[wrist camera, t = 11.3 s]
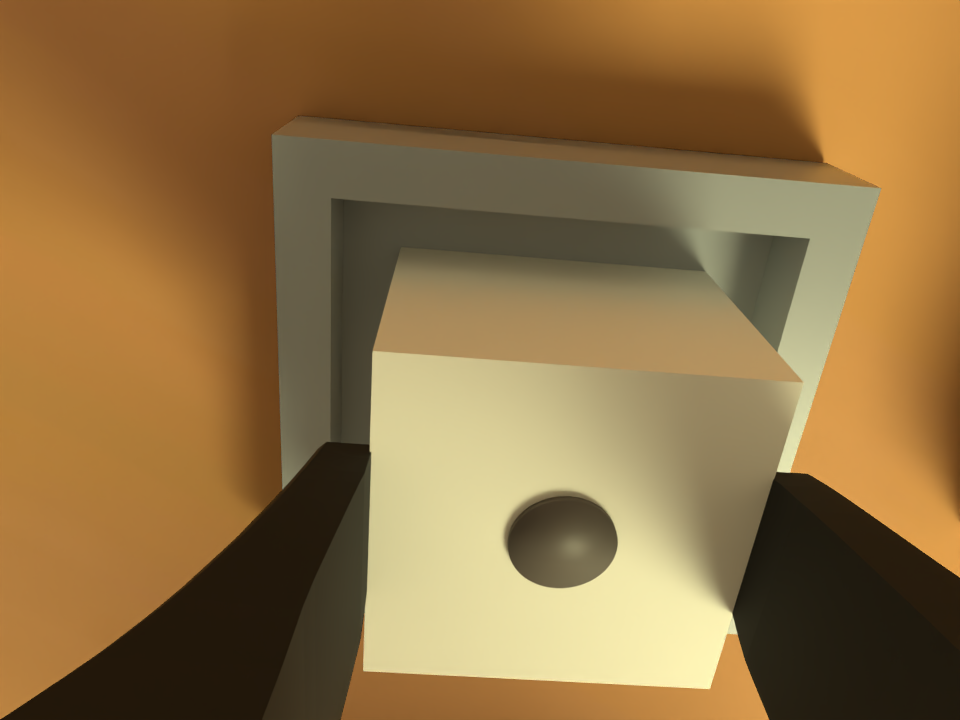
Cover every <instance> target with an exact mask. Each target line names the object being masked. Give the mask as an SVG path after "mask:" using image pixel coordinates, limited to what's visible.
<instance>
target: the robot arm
mask: <svg viewBox="0 0 960 720" xmlns="http://www.w3.org/2000/svg"><path fill="white" fill-rule="evenodd" d="M370 480H371V452H370V445H369V444H354V443H339V442H326V443H324V444H323V445H322V446H321V447H319V448H318V449H317V450H316V451H315V453H314V454H313V455H312V456H311V457H310V459H309V460H308V461H307V462H306V463H305V465H304V466H303V467H302V468H301V469H300V471H299V472H298V473H297V474H296V475H295V476H294V477H293V479H292V480H291V481H290V482H289V483H288V484H287V485H286V486H285V488H284V489H283V490H282V491H281V492H280V493H279V494H278V495H277V496H276V497H275V499H274V500H273V501H272V502H271V503H270V504H269V505H268V506H267V507H266V508H265V509H264V510H263V511H262V512H261V513H260V514H259V515H258V516H257V517H256V518H255V519H254V520H253V521H252V522H251V523H250V524H249V525H248V526H247V527H246V528H245V529H244V530H243V532H242V533H241V534H240V535H239V536H238V537H237V538H236V539H235V540H233V541H232V542H231V543H230V544H229V545H228V546H227V547H226V548H225V549H224V550H223V551H222V552H221V553H220V554H218V555H217V556H216V557H215V558H214V559H213V560H212V561H211V562H210V563H209V564H207V565H206V566H205V567H204V568H203V569H202V570H201V571H200V572H199V573H198V574H197V575H195V576H194V577H193V578H192V579H191V580H190V581H189V582H188V583H187V584H186V585H184V586H183V587H182V588H181V589H180V590H179V591H177V592H176V593H175V594H174V595H173V596H171V597H170V598H169V599H168V600H167V601H166V602H164V603H163V604H162V605H161V606H160V607H158V608H157V609H156V610H155V611H153V612H152V613H151V614H150V615H148V616H147V617H146V618H145V619H143V620H142V621H141V622H140V623H138V624H137V625H136V626H134V627H133V628H132V629H130V630H129V631H128V632H127V633H125V634H124V635H123V636H121V637H120V638H119V639H117V640H116V641H115V642H114V643H112V644H111V645H110V646H108V647H107V648H106V649H104V650H103V651H101V652H100V653H99V654H97V655H96V656H94V657H93V658H92V659H90V660H89V661H87V662H86V663H84V664H83V665H81V666H80V667H79V668H77V669H76V670H74V671H73V672H71V673H70V674H68V675H67V676H65V677H64V678H62V679H61V680H59V681H58V682H56V683H55V684H53V685H52V686H50V687H49V688H47V689H46V690H44V691H43V692H41V693H40V694H38V695H37V696H35V697H34V698H32V699H31V700H29V701H28V702H26V703H25V704H23V705H22V706H20V707H19V708H17V709H16V710H14V711H13V712H11V713H10V714H8V715H7V716H5V717H4V718H2V719H0V720H341V716H342V712H343V708H344V704H345V700H346V696H347V692H348V688H349V684H350V680H351V676H352V672H353V668H354V664H355V660H356V656H357V652H358V648H359V643H360V639H361V632H362V624H363V617H364V610H365V603H366V596H367V575H368V543H369V511H370ZM732 615H733V618H734V622H735V626H736V630H737V634H738V637H739V641H740V644H741V647H742V651H743V654H744V658H745V661H746V664H747V666H748V669H749V671H750V674H751V676H752V679H753V681H754V684H755V686H756V688H757V691H758V693H759V696H760V698H761V701H762V703H763V705H764V708H765V710H766V713H767V715H768V717H769V720H960V578H959V577H958V576H957V575H955V574H954V573H952V572H951V571H949V570H948V569H946V568H945V567H943V566H942V565H941V564H939V563H938V562H936V561H935V560H933V559H932V558H931V557H929V556H928V555H926V554H925V553H923V552H922V551H921V550H919V549H918V548H916V547H915V546H913V545H912V544H911V543H909V542H908V541H906V540H905V539H904V538H902V537H901V536H899V535H898V534H897V533H895V532H894V531H892V530H891V529H889V528H888V527H887V526H885V525H884V524H882V523H881V522H880V521H878V520H877V519H875V518H874V517H873V516H871V515H870V514H868V513H867V512H865V511H864V510H863V509H861V508H860V507H858V506H857V505H855V504H854V503H852V502H851V501H850V500H848V499H847V498H845V497H844V496H842V495H841V494H839V493H838V492H836V491H835V490H833V489H832V488H830V487H828V486H827V485H825V484H824V483H822V482H820V481H819V480H817V479H815V478H814V477H812V476H810V475H808V474H801V473H786V472H776V475H775V479H773V482H772V485H771V489H770V492H769V495H768V498H767V502H766V505H765V508H764V511H763V515H762V518H761V521H760V524H759V528H758V531H757V534H756V537H755V541H754V544H753V547H752V550H751V554H750V557H749V560H748V564H747V567H746V570H745V573H744V577H743V580H742V583H741V586H740V590H739V593H738V596H737V599H736V603H735V606H734V609H733V612H732Z"/></svg>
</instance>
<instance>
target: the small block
mask: <svg viewBox="0 0 960 720" xmlns="http://www.w3.org/2000/svg"><path fill="white" fill-rule="evenodd" d="M803 384H804V382H803V381H802V380H801V379H800V378H799V376H798V375H797V374H796V373H795V372H794V371H793V370H792V369H791V367H790V366H789V365H788V364H787V363H786V362H785V361H784V360H783V358H782V357H781V356H780V355H779V354H778V353H777V352H776V351H775V349H774V348H773V347H772V346H771V345H770V344H769V343H768V341H767V340H766V339H765V338H764V337H763V336H762V335H761V334H760V332H759V331H758V330H757V329H756V328H755V327H754V326H753V325H752V323H751V322H750V321H749V320H748V319H747V318H746V317H745V316H744V314H743V313H742V312H741V311H740V310H739V309H738V308H737V306H736V305H735V304H734V303H733V302H732V301H731V300H730V299H729V297H728V296H727V295H726V294H725V293H724V292H723V291H722V290H721V288H720V287H719V286H718V285H717V284H716V283H715V282H714V280H713V279H712V278H711V277H710V276H709V275H708V274H707V273H706V271H694V270H681V269H669V268H656V267H644V266H631V265H619V264H607V263H594V262H582V261H569V260H557V259H545V258H532V257H520V256H507V255H495V254H483V253H470V252H458V251H445V250H433V249H420V248H408V247H401V249H400V252H399V256H398V260H397V263H396V267H395V271H394V274H393V278H392V282H391V285H390V289H389V293H388V296H387V300H386V304H385V307H384V311H383V315H382V318H381V322H380V326H379V329H378V333H377V337H376V340H375V344H374V348H373V353H372V387H371V421H370V452H371V480H370V511H369V543H368V575H367V596H366V603H365V624H364V658H363V671H370V672H389V673H409V674H428V675H448V676H467V677H486V678H506V679H525V680H545V681H564V682H584V683H603V684H622V685H642V686H661V687H681V688H700V689H710V687H711V684H712V680H713V677H714V674H715V671H716V667H717V664H718V661H719V658H720V654H721V651H722V648H723V645H724V641H725V638H726V635H727V632H728V628H729V625H730V622H731V619H732V612H733V609H734V606H735V603H736V599H737V596H738V593H739V590H740V586H741V583H742V580H743V577H744V573H745V570H746V567H747V564H748V560H749V557H750V554H751V550H752V547H753V544H754V541H755V537H756V534H757V531H758V528H759V524H760V521H761V518H762V515H763V511H764V508H765V505H766V502H767V498H768V495H769V492H770V489H771V485H772V482H773V479H775V475H776V472H777V469H778V466H779V462H780V459H781V456H782V452H783V449H784V446H785V443H786V439H787V436H788V433H789V430H790V426H791V423H792V420H793V417H794V413H795V410H796V407H797V404H798V400H799V397H800V394H801V391H802V387H803Z"/></svg>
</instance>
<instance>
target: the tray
mask: <svg viewBox="0 0 960 720" xmlns="http://www.w3.org/2000/svg"><path fill="white" fill-rule="evenodd" d="M272 165H273V198H274V231H275V264H276V296H277V329H278V362H279V395H280V427H281V460H282V490H283V489H284V488H285V486H286V485H287V484H288V483H289V482H290V481H291V480H292V479H293V477H294V476H295V475H296V474H297V473H298V472H299V471H300V469H301V468H302V467H303V466H304V465H305V463H306V462H307V461H308V460H309V459H310V457H311V456H312V455H313V454H314V453H315V451H316V450H317V449H318V448H319V447H321V446H322V445H323V444H324V443H326V442H339V443H354V444H369V445H370V421H371V387H372V353H373V348H374V344H375V340H376V337H377V333H378V329H379V326H380V322H381V318H382V315H383V311H384V307H385V304H386V300H387V296H388V293H389V289H390V285H391V282H392V278H393V274H394V271H395V267H396V263H397V260H398V256H399V252H400V249H401V247H408V248H420V249H433V250H445V251H458V252H470V253H483V254H495V255H507V256H520V257H532V258H545V259H557V260H569V261H582V262H594V263H607V264H619V265H631V266H644V267H656V268H669V269H681V270H694V271H706V273H707V274H708V275H709V276H710V277H711V278H712V279H713V280H714V282H715V283H716V284H717V285H718V286H719V287H720V288H721V290H722V291H723V292H724V293H725V294H726V295H727V296H728V297H729V299H730V300H731V301H732V302H733V303H734V304H735V305H736V306H737V308H738V309H739V310H740V311H741V312H742V313H743V314H744V316H745V317H746V318H747V319H748V320H749V321H750V322H751V323H752V325H753V326H754V327H755V328H756V329H757V330H758V331H759V332H760V334H761V335H762V336H763V337H764V338H765V339H766V340H767V341H768V343H769V344H770V345H771V346H772V347H773V348H774V349H775V351H776V352H777V353H778V354H779V355H780V356H781V357H782V358H783V360H784V361H785V362H786V363H787V364H788V365H789V366H790V367H791V369H792V370H793V371H794V372H795V373H796V374H797V375H798V376H799V378H800V379H801V380H802V381H803V382H804V384H803V387H802V391H801V394H800V397H799V400H798V404H797V407H796V410H795V413H794V417H793V420H792V423H791V426H790V430H789V433H788V436H787V439H786V443H785V446H784V449H783V452H782V456H781V459H780V462H779V466H778V469H777V472H786V473H790V471H791V467H792V464H793V461H794V458H795V455H796V452H797V449H798V446H799V443H800V439H801V436H802V433H803V430H804V427H805V424H806V421H807V418H808V415H809V411H810V408H811V405H812V402H813V399H814V396H815V393H816V390H817V387H818V383H819V380H820V377H821V374H822V371H823V368H824V365H825V362H826V359H827V355H828V352H829V349H830V346H831V343H832V340H833V337H834V334H835V331H836V328H837V324H838V321H839V318H840V315H841V312H842V309H843V306H844V303H845V300H846V296H847V293H848V290H849V287H850V284H851V281H852V278H853V275H854V272H855V268H856V265H857V262H858V259H859V256H860V253H861V250H862V247H863V244H864V240H865V237H866V234H867V231H868V228H869V225H870V222H871V219H872V216H873V212H874V209H875V206H876V203H877V200H878V197H879V194H880V191H881V188H879V187H877V186H875V185H873V184H871V183H869V182H866V181H864V180H862V179H860V178H858V177H856V176H853V175H851V174H849V173H847V172H845V171H843V170H840V169H838V168H836V167H834V166H832V165H830V164H828V163H821V162H810V161H799V160H788V159H777V158H766V157H755V156H744V155H732V154H721V153H710V152H699V151H688V150H677V149H666V148H654V147H643V146H632V145H621V144H610V143H599V142H588V141H576V140H565V139H554V138H543V137H532V136H521V135H510V134H499V133H487V132H476V131H465V130H454V129H443V128H432V127H421V126H409V125H398V124H387V123H376V122H365V121H354V120H343V119H331V118H320V117H309V116H297V117H296V118H294V119H293V120H292V121H290V122H289V123H287V124H286V125H284V126H283V127H282V128H280V129H279V130H277V131H276V132H274V133H273V134H272ZM364 613H365V610H364ZM727 634H737V630H736V626H735V622H734V618H733V615H732V619H731V622H730V625H729V628H728V632H727Z"/></svg>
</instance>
